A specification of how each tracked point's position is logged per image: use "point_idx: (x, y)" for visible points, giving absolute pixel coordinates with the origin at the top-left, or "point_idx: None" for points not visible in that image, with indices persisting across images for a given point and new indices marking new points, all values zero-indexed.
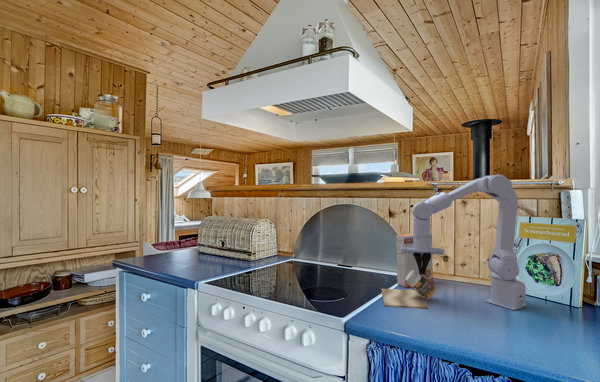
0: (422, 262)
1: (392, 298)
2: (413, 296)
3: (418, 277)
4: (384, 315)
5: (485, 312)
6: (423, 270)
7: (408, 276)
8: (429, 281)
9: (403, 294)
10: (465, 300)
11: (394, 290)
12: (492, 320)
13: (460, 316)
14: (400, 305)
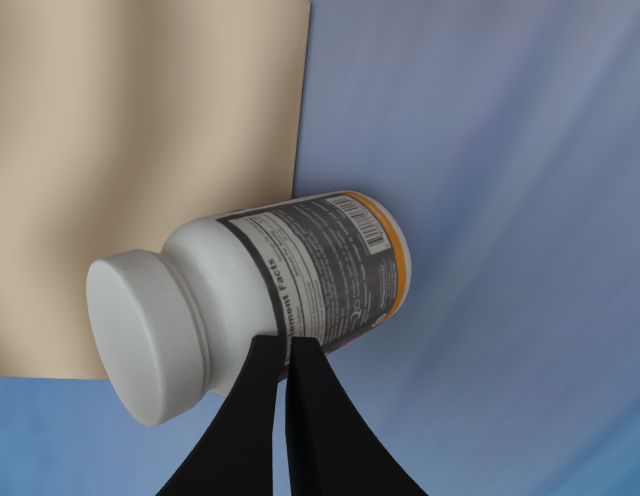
0: (310, 478)
1: (34, 259)
2: (217, 200)
3: (225, 395)
4: (12, 473)
5: (556, 394)
6: (289, 454)
7: (111, 342)
8: (359, 311)
9: (133, 152)
10: (587, 226)
11: (39, 15)
12: (517, 465)
13: (401, 445)
14: (98, 376)
